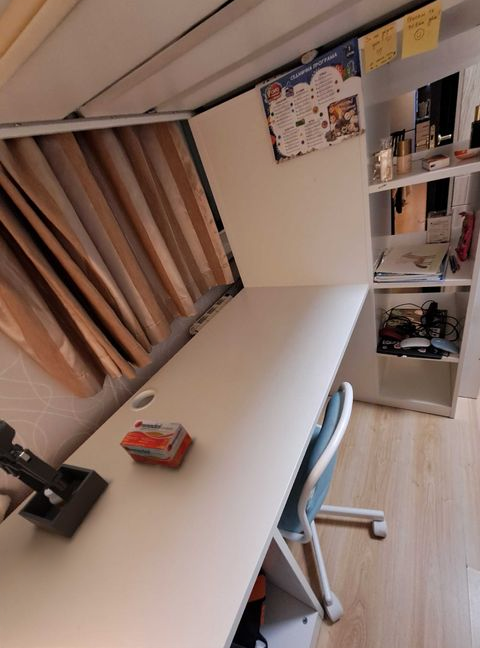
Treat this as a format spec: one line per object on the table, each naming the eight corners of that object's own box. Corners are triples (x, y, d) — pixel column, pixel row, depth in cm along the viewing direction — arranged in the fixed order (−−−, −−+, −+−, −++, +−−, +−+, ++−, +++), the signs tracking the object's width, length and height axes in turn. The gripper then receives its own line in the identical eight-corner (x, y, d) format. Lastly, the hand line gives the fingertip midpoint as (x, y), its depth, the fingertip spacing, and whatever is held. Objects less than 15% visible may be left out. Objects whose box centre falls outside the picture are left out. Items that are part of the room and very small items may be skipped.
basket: (36, 525, 70) (17, 513, 67) (76, 475, 80) (61, 462, 76) (70, 538, 65) (51, 526, 62) (108, 483, 75) (94, 469, 71)
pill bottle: (64, 516, 70) (43, 501, 65) (62, 504, 73) (41, 489, 69) (82, 502, 72) (62, 486, 67) (79, 490, 75) (59, 474, 71)
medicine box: (193, 440, 79) (181, 421, 74) (179, 468, 72) (164, 450, 68) (150, 436, 84) (136, 418, 80) (133, 462, 78) (117, 444, 74)
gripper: (33, 423, 55) (99, 483, 67) (-28, 414, 64) (40, 469, 76) (-6, 459, 49) (74, 518, 62) (-67, 444, 58) (14, 498, 70)
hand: (55, 490), depth 69 cm, fingers open, 10 cm apart
